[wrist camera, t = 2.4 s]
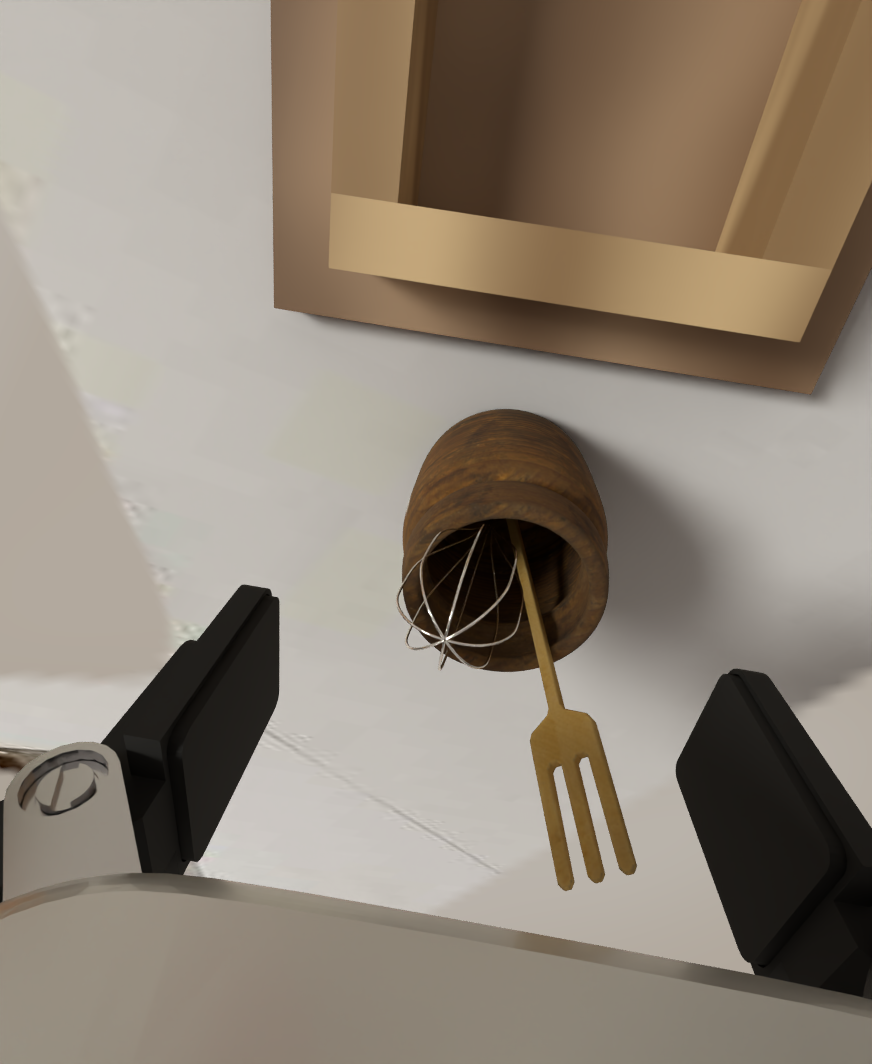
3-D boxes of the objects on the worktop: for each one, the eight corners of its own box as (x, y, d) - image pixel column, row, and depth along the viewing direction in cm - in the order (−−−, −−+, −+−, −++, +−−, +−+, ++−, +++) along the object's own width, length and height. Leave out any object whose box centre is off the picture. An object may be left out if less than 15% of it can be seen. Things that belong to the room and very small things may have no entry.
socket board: (1139, -379, 10) (1534, -769, 6) (791, 385, 16) (875, 423, 13) (289, -475, 10) (168, -886, 6) (288, 304, 17) (228, 318, 13)
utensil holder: (531, 366, 17) (582, 552, 6) (620, 515, 19) (768, 842, 8) (388, 460, 19) (247, 717, 8) (482, 585, 21) (463, 918, 11)
